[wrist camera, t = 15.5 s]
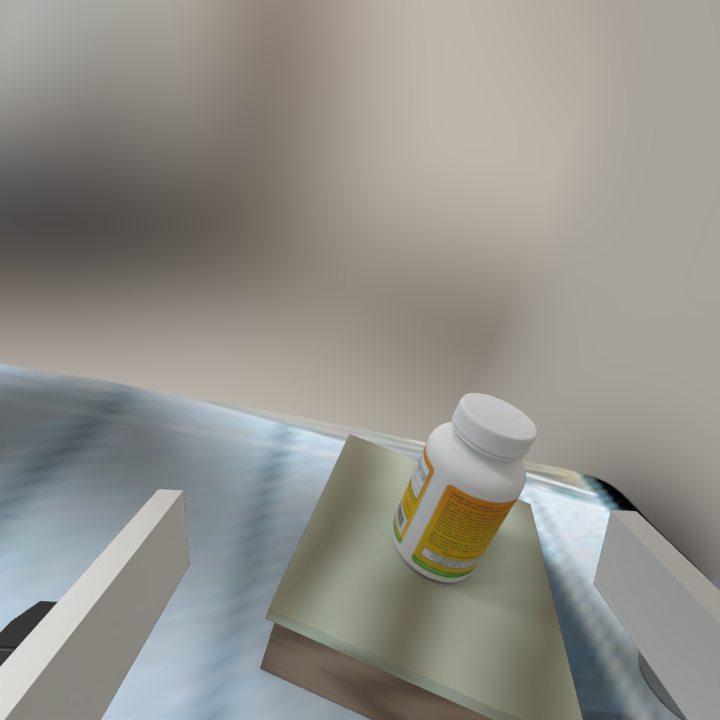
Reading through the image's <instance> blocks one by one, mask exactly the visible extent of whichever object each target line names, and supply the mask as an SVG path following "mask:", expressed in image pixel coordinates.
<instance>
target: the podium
mask: <svg viewBox="0 0 720 720" xmlns="http://www.w3.org/2000/svg"><path fill="white" fill-rule="evenodd" d="M417 463H418V460H415V459H412V458H410V457H407V456H405V455H402V454H400V453H397V452H394V451H392V450H389V449H387V448H384V447H381V446H379V445H376V444H374V443H371V442H369V441H366V440H363V439H361V438H358V437H356V436H353V435H350V434H349V436H348V438H347V440H346V443H345V445H344V447H343V449H342V451H341V453H340V456H339V458H338V460H337V462H336V464H335V466H334V469H333V471H332V473H331V475H330V477H329V479H328V482H327V484H326V486H325V488H324V490H323V492H322V495H321V497H320V499H319V501H318V503H317V505H316V508H315V510H314V512H313V514H312V516H311V518H310V521H309V523H308V525H307V527H306V529H305V531H304V534H303V536H302V538H301V540H300V542H299V544H298V547H297V549H296V551H295V553H294V555H293V557H292V560H291V562H290V564H289V566H288V568H287V570H286V573H285V575H284V577H283V579H282V581H281V583H280V585H279V588H278V590H277V592H276V594H275V596H274V598H273V601H272V603H271V605H270V607H269V610H268V613H267V617H266V619H268V620H270V621H272V622H274V626H273V629H272V632H271V635H270V639H269V642H268V645H267V648H266V651H265V654H264V658H263V661H262V664H261V667H260V669H263V670H265V671H267V672H269V673H271V674H274V675H276V676H278V677H280V678H282V679H285V680H287V681H289V682H291V683H293V684H295V685H298V686H300V687H302V688H304V689H306V690H309V691H311V692H313V693H315V694H317V695H320V696H322V697H324V698H326V699H328V700H331V701H333V702H335V703H337V704H339V705H341V706H344V707H346V708H348V709H350V710H352V711H355V712H357V713H359V714H361V715H363V716H366V717H368V718H370V719H372V720H583V719H582V715H581V711H580V707H579V703H578V698H577V694H576V690H575V686H574V682H573V678H572V674H571V670H570V665H569V661H568V657H567V653H566V649H565V645H564V641H563V637H562V633H561V628H560V624H559V620H558V616H557V612H556V608H555V604H554V600H553V595H552V591H551V587H550V583H549V579H548V575H547V571H546V567H545V562H544V558H543V554H542V550H541V546H540V542H539V538H538V534H537V530H536V525H535V521H534V517H533V513H532V509H531V505H530V504H529V503H526V502H524V501H521V500H518V499H517V500H516V502H515V504H514V505H513V507H512V508H511V510H510V512H509V513H508V515H507V517H506V518H505V520H504V522H503V523H502V525H501V526H500V528H499V530H498V531H497V533H496V535H495V536H494V538H493V540H492V541H491V543H490V545H489V546H488V548H487V550H486V551H485V553H484V554H483V556H482V558H481V559H480V561H479V563H478V564H477V566H476V567H475V569H474V570H473V572H472V573H471V574H470V575H469V576H468V577H466V578H465V579H463V580H460V581H457V582H451V583H447V582H440V581H436V580H433V579H430V578H428V577H426V576H424V575H422V574H421V573H419V572H418V571H416V570H415V569H414V568H412V567H411V566H410V565H409V564H408V563H407V562H406V561H405V560H404V559H403V557H402V556H401V555H400V553H399V552H398V550H397V548H396V546H395V544H394V541H393V537H392V522H393V519H394V516H395V513H396V511H397V508H398V506H399V504H400V501H401V499H402V497H403V495H404V493H405V490H406V488H407V486H408V483H409V481H410V479H411V477H412V474H413V472H414V470H415V468H416V466H417Z"/></svg>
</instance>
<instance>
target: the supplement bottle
mask: <svg viewBox="0 0 720 720" xmlns="http://www.w3.org/2000/svg"><path fill="white" fill-rule="evenodd" d="M536 435H537V429H536V427H535V425H534V423H533V422H532V421H531V420H530V419H529V418H528V417H527V416H526V415H525V414H524V413H522V412H521V411H520V410H519V409H517V408H515V407H513V406H512V405H510V404H508V403H506V402H505V401H502V400H500V399H498V398H495V397H492V396H489V395H485V394H479V393H470V394H467V395H465V396H463V397H462V399H461V400H460V402H459V404H458V406H457V408H456V410H455V412H454V414H453V419H452V422H449V423H445V424H442V425H440V426H439V427H437V428H436V429H435V430H434V431H433V432H432V434H431V435H430V437H429V439H428V441H427V443H426V445H425V447H424V450H423V452H422V454H421V456H420V459H419V461H418V463H417V466H416V468H415V470H414V472H413V474H412V477H411V479H410V481H409V483H408V486H407V488H406V490H405V493H404V495H403V497H402V499H401V501H400V504H399V506H398V508H397V511H396V513H395V516H394V519H393V522H392V537H393V541H394V544H395V546H396V548H397V550H398V552H399V553H400V555H401V556H402V557H403V559H404V560H405V561H406V562H407V563H408V564H409V565H410V566H411V567H412V568H414V569H415V570H416V571H418V572H419V573H421V574H422V575H424V576H426V577H428V578H430V579H433V580H436V581H440V582H447V583H451V582H457V581H460V580H463V579H465V578H466V577H468V576H469V575H470V574H471V573H472V572H473V570H474V569H475V567H476V566H477V564H478V563H479V561H480V559H481V558H482V556H483V554H484V553H485V551H486V550H487V548H488V546H489V545H490V543H491V541H492V540H493V538H494V536H495V535H496V533H497V531H498V530H499V528H500V526H501V525H502V523H503V522H504V520H505V518H506V517H507V515H508V513H509V512H510V510H511V508H512V507H513V505H514V504H515V502H516V500H517V499H518V497H519V495H520V494H521V492H522V490H523V488H524V485H525V481H526V471H525V467H524V464H523V462H522V460H521V459H523V458H524V456H525V455H526V454H527V452H528V451H529V449H530V447H531V446H532V443H533V442H534V440H535V438H536Z"/></svg>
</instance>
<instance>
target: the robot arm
mask: <svg viewBox="0 0 720 720" xmlns="http://www.w3.org/2000/svg"><path fill="white" fill-rule="evenodd" d="M188 566H189V553H188V541H187V529H186V517H185V505H184V493H183V490H168V489H158V490H157V491H156V492H155V493H154V495H153V496H152V497H151V498H150V499H149V500H148V501H147V502H146V504H145V505H144V506H143V507H142V508H141V509H140V510H139V511H138V513H137V514H136V515H135V516H134V517H133V518H132V519H131V520H130V522H129V523H128V524H127V525H126V526H125V527H124V528H123V529H122V531H121V532H120V533H119V534H118V535H117V536H116V537H115V538H114V539H113V541H112V542H111V543H110V544H109V545H108V546H107V547H106V548H105V550H104V551H103V552H102V553H101V554H100V555H99V556H98V557H97V559H96V560H95V561H94V562H93V563H92V564H91V565H90V566H89V568H88V569H87V570H86V571H85V572H84V573H83V574H82V575H81V577H80V578H79V579H78V580H77V581H76V582H75V583H74V584H73V586H72V587H71V588H70V589H69V590H68V591H67V592H66V593H65V595H64V596H63V597H62V598H61V599H60V600H59V601H58V602H48V601H40V602H38V603H37V604H35V605H34V606H32V607H31V608H30V609H28V610H27V611H25V612H24V613H22V614H21V615H20V616H18V617H17V618H15V619H14V620H12V621H11V622H10V623H9V624H8V625H7V626H6V627H5V628H4V629H3V630H2V631H1V632H0V720H101V719H102V717H103V715H104V713H105V712H106V710H107V708H108V706H109V705H110V703H111V701H112V699H113V698H114V696H115V694H116V692H117V691H118V689H119V687H120V685H121V684H122V682H123V680H124V678H125V677H126V675H127V673H128V671H129V670H130V668H131V666H132V664H133V663H134V661H135V659H136V657H137V656H138V654H139V652H140V650H141V649H142V647H143V645H144V643H145V642H146V640H147V638H148V636H149V635H150V633H151V631H152V629H153V628H154V626H155V624H156V622H157V621H158V619H159V617H160V615H161V614H162V612H163V610H164V608H165V607H166V605H167V603H168V601H169V600H170V598H171V596H172V594H173V593H174V591H175V589H176V587H177V586H178V584H179V582H180V580H181V579H182V577H183V575H184V573H185V572H186V570H187V568H188ZM593 584H594V586H595V587H596V588H597V590H598V591H599V593H600V594H601V596H602V597H603V599H604V600H605V601H606V603H607V604H608V606H609V607H610V609H611V610H612V612H613V613H614V614H615V616H616V617H617V619H618V620H619V622H620V623H621V625H622V626H623V628H624V629H625V630H626V632H627V633H628V635H629V636H630V638H631V639H632V641H633V642H634V643H635V645H636V646H637V648H638V649H639V651H640V652H641V654H642V655H643V656H644V658H645V659H646V661H647V662H648V664H649V665H650V667H651V668H652V669H653V671H654V672H655V674H656V675H657V677H658V678H659V680H660V681H661V682H662V684H663V685H664V687H665V688H666V690H667V691H668V693H669V694H670V695H671V697H672V698H673V700H674V701H675V703H676V704H677V706H678V707H679V708H680V710H681V711H682V713H683V714H684V716H685V717H686V719H687V720H720V590H719V589H717V588H716V587H715V586H714V585H713V584H712V583H711V582H710V581H709V580H708V579H707V578H706V577H705V576H704V575H703V574H702V573H701V572H700V571H698V570H697V569H696V568H695V567H694V566H693V565H692V564H691V563H690V562H689V561H688V560H687V559H686V558H685V557H684V556H683V555H682V554H681V553H679V552H678V551H677V550H676V549H675V548H674V547H673V546H672V545H671V544H670V543H669V542H668V541H667V540H666V539H665V538H664V537H663V536H662V535H661V534H659V533H658V532H657V531H656V530H655V529H654V528H653V527H652V526H651V525H650V524H649V523H648V522H647V521H646V520H645V519H644V518H643V517H642V516H640V515H639V514H638V513H637V512H636V511H616V510H611V513H610V517H609V521H608V525H607V529H606V534H605V538H604V542H603V546H602V550H601V554H600V558H599V563H598V567H597V571H596V575H595V579H594V583H593Z"/></svg>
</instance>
